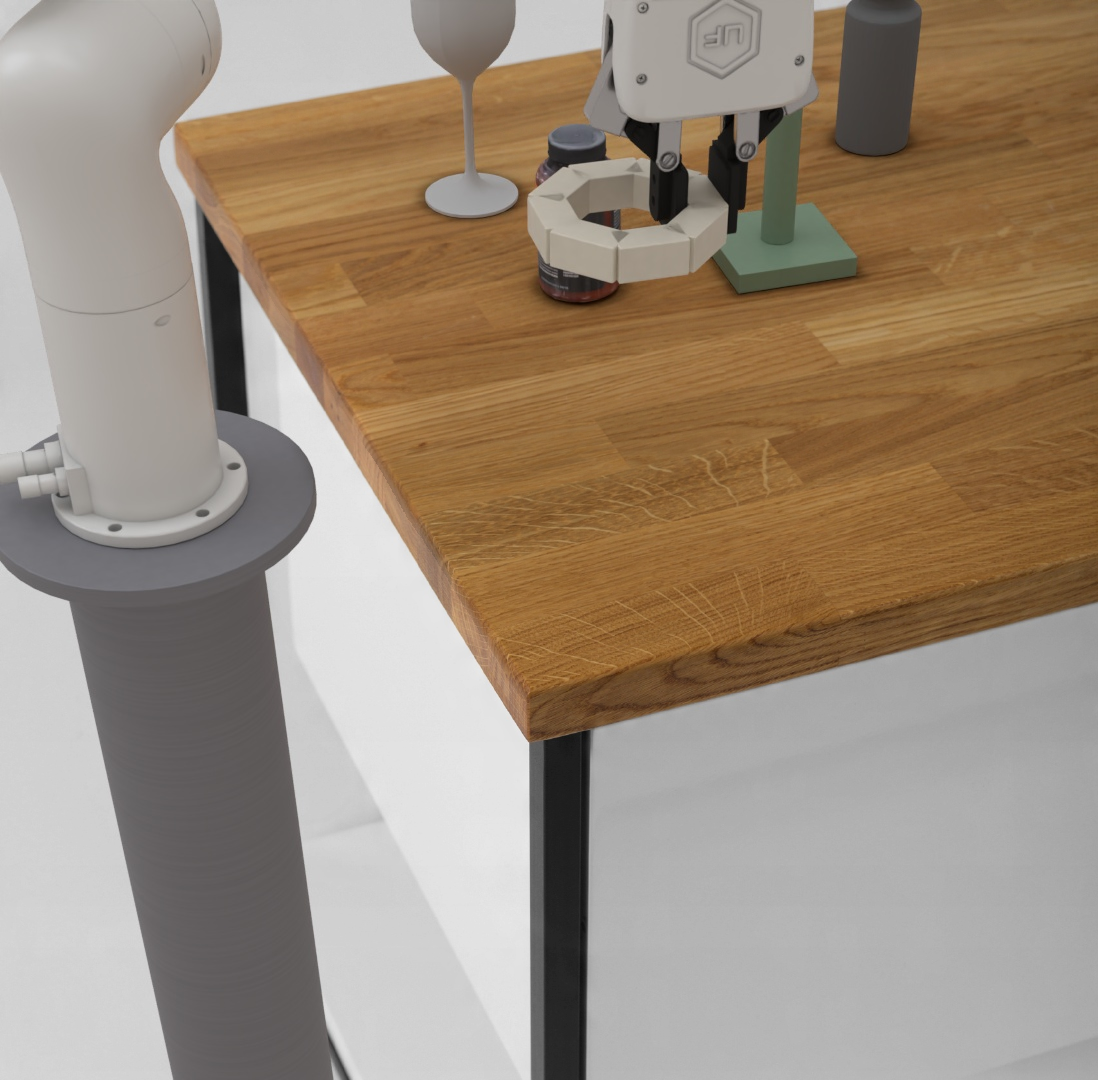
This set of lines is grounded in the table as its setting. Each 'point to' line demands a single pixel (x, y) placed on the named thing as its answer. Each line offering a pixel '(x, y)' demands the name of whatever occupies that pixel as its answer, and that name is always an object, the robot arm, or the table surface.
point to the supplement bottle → (563, 151)
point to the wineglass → (466, 91)
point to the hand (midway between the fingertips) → (696, 223)
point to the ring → (617, 250)
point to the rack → (783, 228)
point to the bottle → (877, 75)
